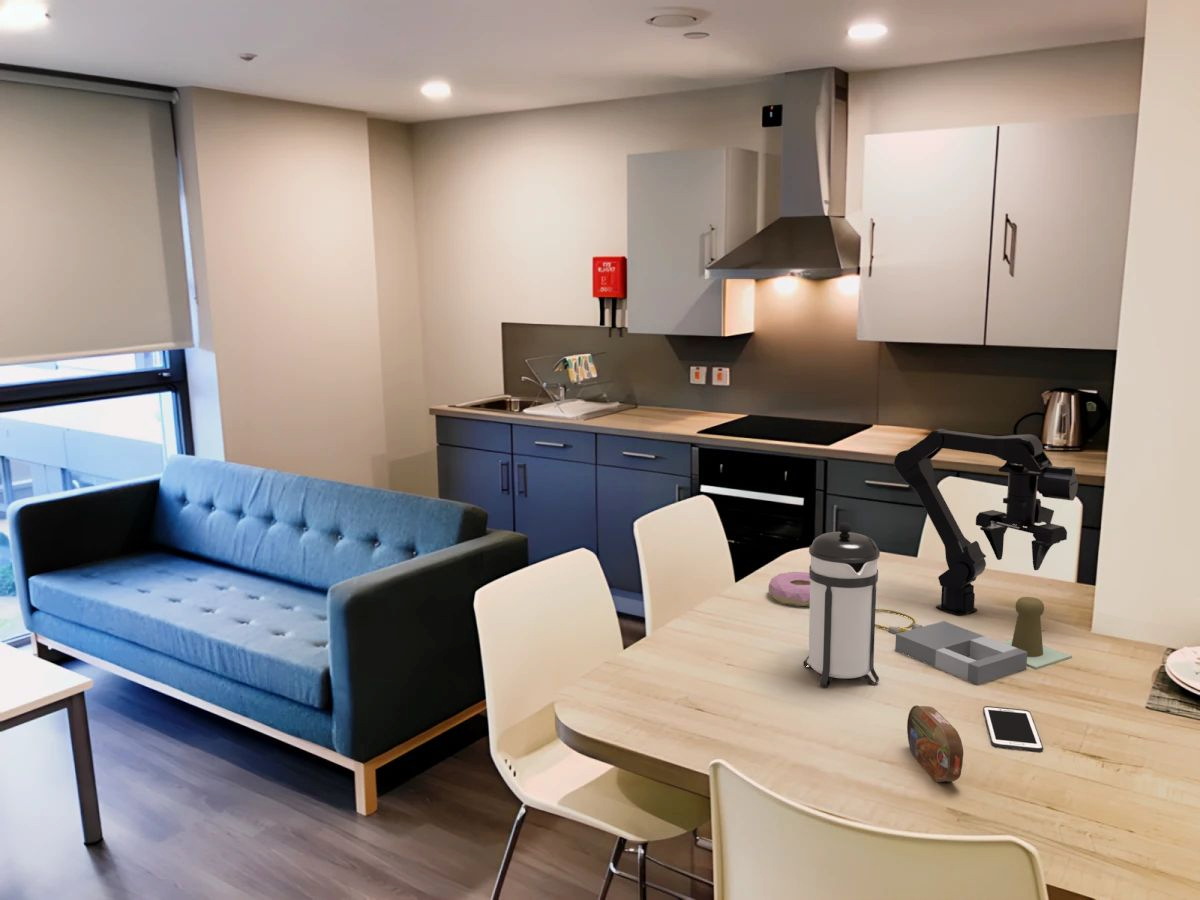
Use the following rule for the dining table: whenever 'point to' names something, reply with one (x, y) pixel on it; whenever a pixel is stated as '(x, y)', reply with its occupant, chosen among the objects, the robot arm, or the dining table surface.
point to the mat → (1044, 657)
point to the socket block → (961, 652)
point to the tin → (935, 743)
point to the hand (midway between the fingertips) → (1017, 564)
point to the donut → (791, 588)
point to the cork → (1029, 626)
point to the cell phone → (1012, 729)
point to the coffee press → (842, 605)
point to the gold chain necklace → (897, 629)
